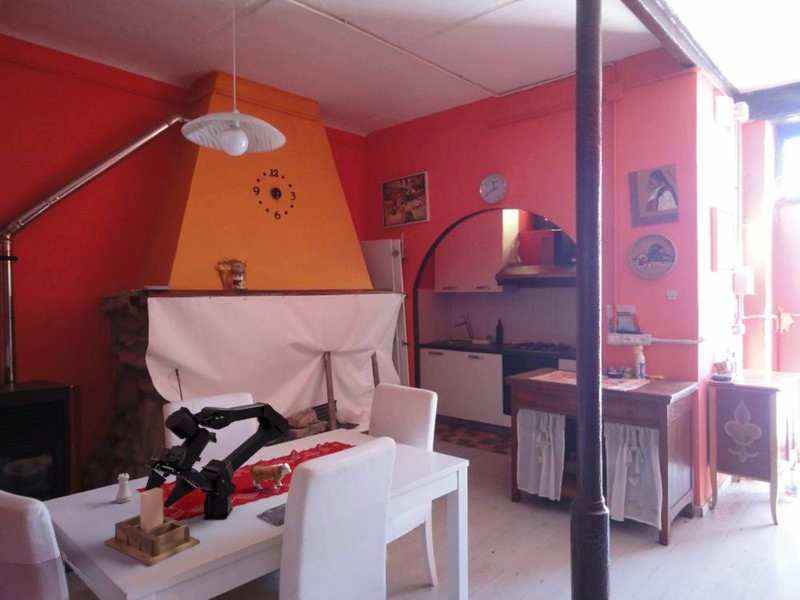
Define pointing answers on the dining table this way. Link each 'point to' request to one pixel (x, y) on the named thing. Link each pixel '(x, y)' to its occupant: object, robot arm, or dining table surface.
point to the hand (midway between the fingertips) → (154, 503)
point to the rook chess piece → (123, 489)
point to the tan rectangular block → (151, 508)
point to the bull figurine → (269, 473)
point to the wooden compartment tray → (152, 539)
